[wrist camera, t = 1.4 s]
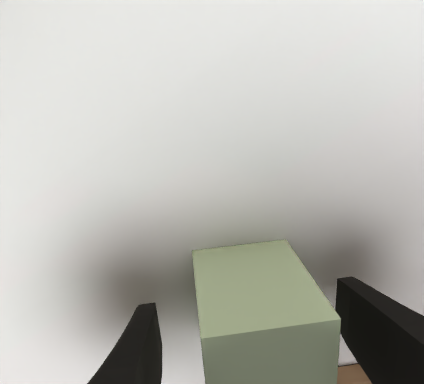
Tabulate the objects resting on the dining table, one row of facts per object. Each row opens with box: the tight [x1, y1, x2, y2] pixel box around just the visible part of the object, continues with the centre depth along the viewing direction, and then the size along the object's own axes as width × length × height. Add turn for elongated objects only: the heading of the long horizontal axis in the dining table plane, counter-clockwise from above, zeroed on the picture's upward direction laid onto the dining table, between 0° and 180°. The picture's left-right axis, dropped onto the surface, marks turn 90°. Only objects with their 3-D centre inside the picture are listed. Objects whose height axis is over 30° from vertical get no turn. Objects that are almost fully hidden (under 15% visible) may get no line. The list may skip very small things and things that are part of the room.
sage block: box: [192, 239, 341, 384], centre depth 12 cm, size 4×4×5 cm
